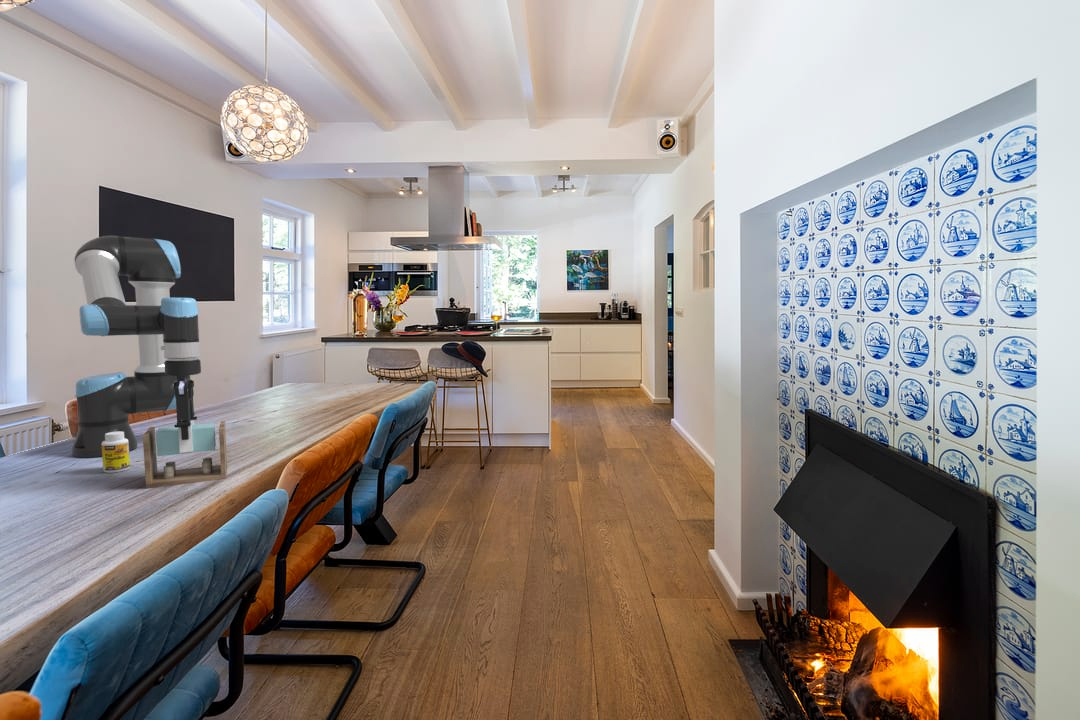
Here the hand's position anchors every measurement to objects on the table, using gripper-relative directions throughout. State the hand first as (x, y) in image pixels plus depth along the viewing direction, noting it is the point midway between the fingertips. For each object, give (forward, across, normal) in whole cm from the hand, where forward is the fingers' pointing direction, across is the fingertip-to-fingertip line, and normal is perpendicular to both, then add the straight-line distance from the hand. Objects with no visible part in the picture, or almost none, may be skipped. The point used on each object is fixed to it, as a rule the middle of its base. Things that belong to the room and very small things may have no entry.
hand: (187, 448), depth 132 cm
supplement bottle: (+8, -16, -18) cm, 25 cm away
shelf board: (0, 0, 0) cm, 0 cm away
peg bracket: (+8, 0, 0) cm, 8 cm away
